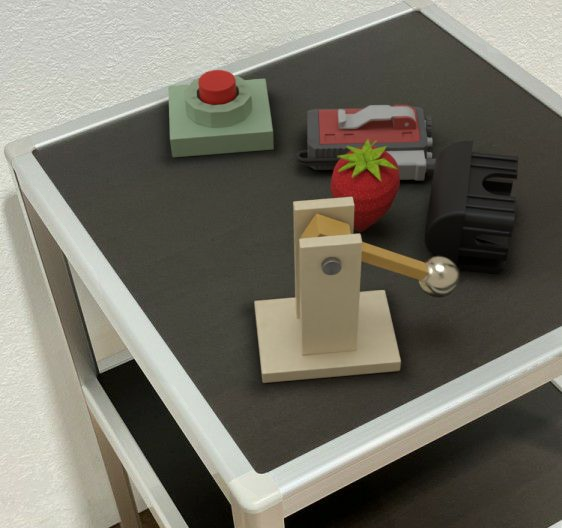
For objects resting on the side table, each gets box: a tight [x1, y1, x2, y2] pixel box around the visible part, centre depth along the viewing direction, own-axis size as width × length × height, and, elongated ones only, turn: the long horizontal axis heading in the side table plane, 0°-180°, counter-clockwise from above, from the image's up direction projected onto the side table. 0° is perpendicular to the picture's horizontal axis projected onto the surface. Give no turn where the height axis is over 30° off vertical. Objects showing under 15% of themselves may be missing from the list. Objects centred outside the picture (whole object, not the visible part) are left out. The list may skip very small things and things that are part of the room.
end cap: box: [423, 139, 519, 274], centre depth 84 cm, size 10×7×7 cm
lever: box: [301, 213, 461, 298], centre depth 73 cm, size 13×3×3 cm, turn 96°
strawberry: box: [329, 139, 401, 233], centre depth 84 cm, size 6×8×10 cm
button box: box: [167, 75, 275, 158], centre depth 96 cm, size 10×9×4 cm
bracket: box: [254, 197, 402, 384], centre depth 74 cm, size 11×8×13 cm
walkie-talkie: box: [295, 104, 437, 182], centre depth 93 cm, size 9×4×20 cm
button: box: [198, 69, 236, 105], centre depth 95 cm, size 4×4×2 cm
